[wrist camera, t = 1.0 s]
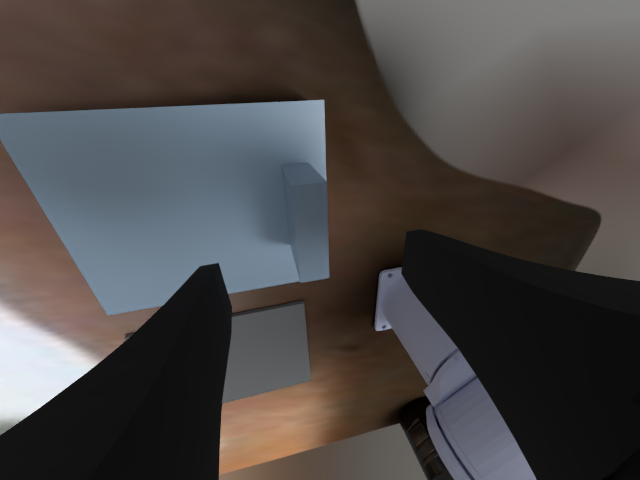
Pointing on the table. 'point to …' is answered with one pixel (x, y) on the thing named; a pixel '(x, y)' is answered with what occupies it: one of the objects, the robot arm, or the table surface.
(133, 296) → the lid
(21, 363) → the table surface
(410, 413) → the supplement bottle
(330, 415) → the table surface
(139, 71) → the table surface
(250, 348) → the mat
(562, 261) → the table surface
